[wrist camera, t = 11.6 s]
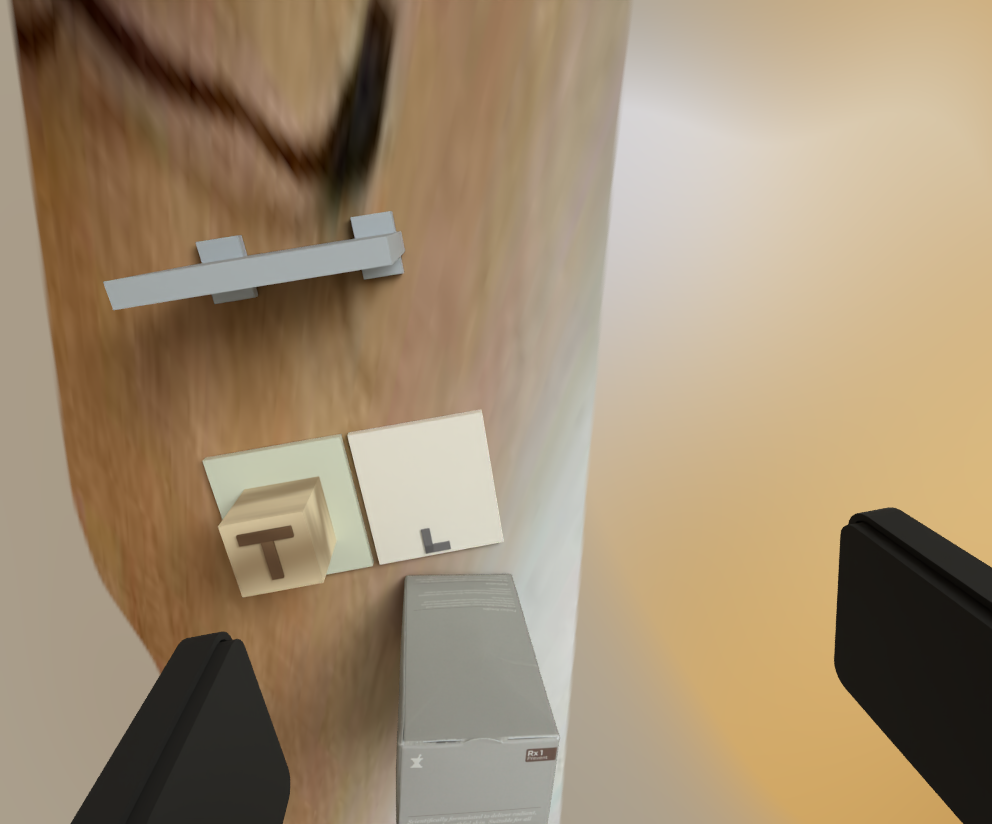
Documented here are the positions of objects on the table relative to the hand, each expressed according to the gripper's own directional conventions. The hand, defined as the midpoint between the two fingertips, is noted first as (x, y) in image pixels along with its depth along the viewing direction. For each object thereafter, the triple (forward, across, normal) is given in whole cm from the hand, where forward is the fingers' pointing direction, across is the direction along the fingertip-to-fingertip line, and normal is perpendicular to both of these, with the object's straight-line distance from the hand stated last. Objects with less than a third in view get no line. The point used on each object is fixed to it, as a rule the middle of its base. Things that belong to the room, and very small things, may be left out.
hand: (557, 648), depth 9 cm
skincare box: (+30, +4, +21) cm, 37 cm away
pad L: (+30, +4, +11) cm, 32 cm away
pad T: (+30, +14, +11) cm, 35 cm away
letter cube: (+30, +14, +11) cm, 35 cm away
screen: (+30, +9, -5) cm, 32 cm away
